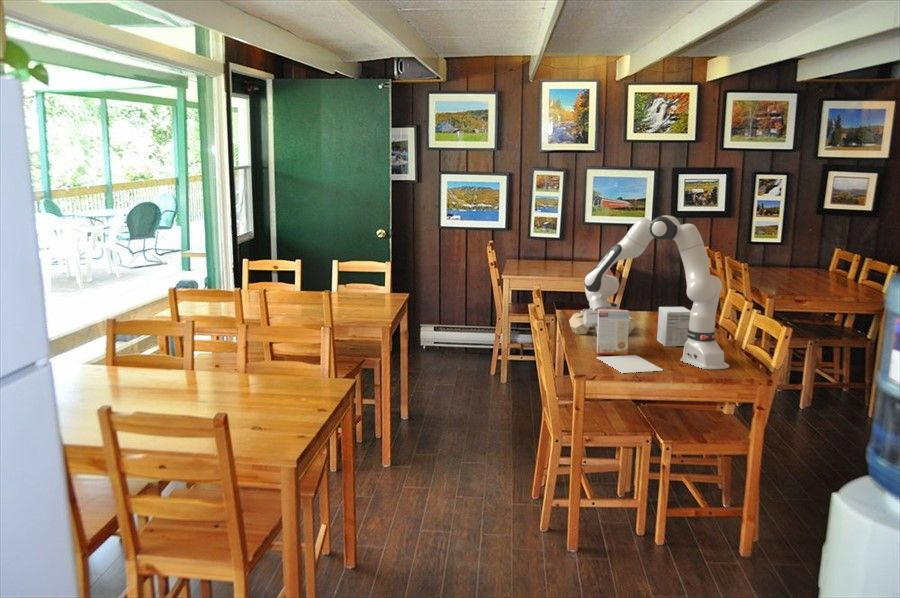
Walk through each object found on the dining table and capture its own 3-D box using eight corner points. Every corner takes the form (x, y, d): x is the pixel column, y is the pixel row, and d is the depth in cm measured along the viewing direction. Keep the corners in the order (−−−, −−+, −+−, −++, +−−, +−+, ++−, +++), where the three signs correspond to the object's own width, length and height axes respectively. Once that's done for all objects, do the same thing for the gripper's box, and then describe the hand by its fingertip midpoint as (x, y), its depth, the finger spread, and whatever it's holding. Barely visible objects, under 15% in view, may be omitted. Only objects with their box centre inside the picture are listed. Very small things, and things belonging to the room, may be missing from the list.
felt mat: (664, 371, 334) (664, 370, 334) (622, 373, 329) (622, 372, 329) (635, 355, 358) (635, 354, 358) (596, 357, 354) (596, 357, 353)
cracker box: (626, 353, 362) (628, 309, 360) (627, 355, 357) (629, 311, 354) (596, 352, 364) (597, 308, 361) (597, 354, 358) (599, 310, 356)
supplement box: (691, 346, 376) (693, 312, 373) (664, 346, 376) (667, 312, 372) (681, 340, 389) (684, 306, 386) (656, 340, 389) (658, 306, 385)
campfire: (641, 328, 415) (643, 297, 412) (624, 342, 385) (626, 308, 382) (579, 321, 431) (580, 291, 427) (558, 333, 401) (560, 301, 398)
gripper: (582, 305, 366) (589, 330, 358) (621, 303, 371) (629, 328, 363) (578, 312, 371) (585, 337, 364) (616, 311, 376) (624, 335, 369)
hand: (607, 332), depth 364 cm, fingers closed
